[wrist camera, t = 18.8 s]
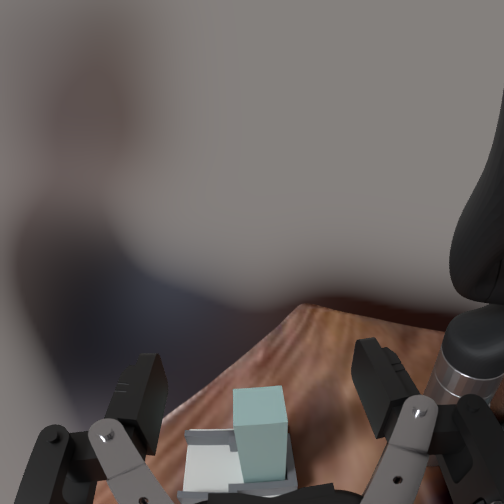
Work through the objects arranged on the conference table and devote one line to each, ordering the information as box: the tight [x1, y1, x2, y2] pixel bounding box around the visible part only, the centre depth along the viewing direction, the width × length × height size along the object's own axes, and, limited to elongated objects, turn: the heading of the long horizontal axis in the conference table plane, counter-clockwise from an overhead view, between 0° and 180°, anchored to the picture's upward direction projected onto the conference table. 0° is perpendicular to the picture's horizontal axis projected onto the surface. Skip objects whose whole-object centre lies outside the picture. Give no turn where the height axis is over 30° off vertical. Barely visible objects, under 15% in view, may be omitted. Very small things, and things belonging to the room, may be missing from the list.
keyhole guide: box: [177, 429, 298, 504], centre depth 33 cm, size 14×15×3 cm
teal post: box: [233, 386, 288, 483], centre depth 31 cm, size 5×5×14 cm
